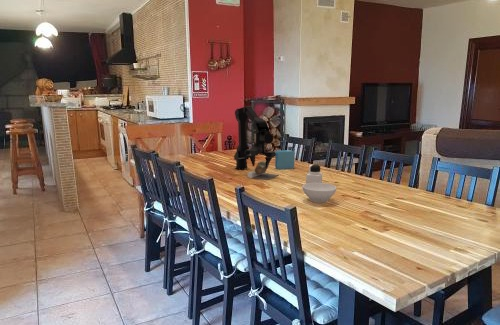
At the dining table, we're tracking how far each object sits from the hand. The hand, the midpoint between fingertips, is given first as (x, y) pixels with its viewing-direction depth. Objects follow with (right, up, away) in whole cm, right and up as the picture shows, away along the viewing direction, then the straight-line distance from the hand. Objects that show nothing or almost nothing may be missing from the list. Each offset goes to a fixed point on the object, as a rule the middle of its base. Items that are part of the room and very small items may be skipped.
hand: (259, 167), depth 232 cm
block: (0, -3, +1) cm, 3 cm away
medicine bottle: (+29, -11, -24) cm, 39 cm away
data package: (+17, -2, +23) cm, 29 cm away
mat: (+4, -6, -1) cm, 7 cm away
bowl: (+27, -16, -51) cm, 60 cm away
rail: (-2, -5, +2) cm, 6 cm away
